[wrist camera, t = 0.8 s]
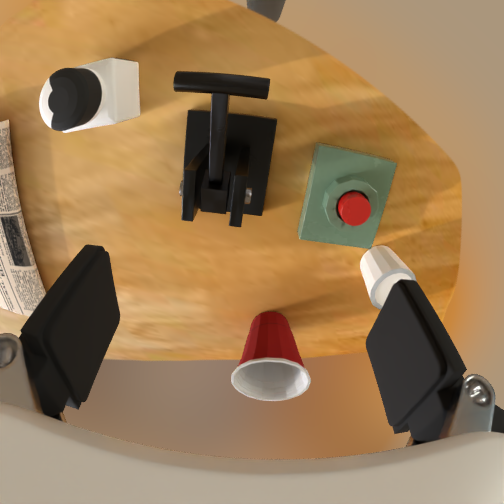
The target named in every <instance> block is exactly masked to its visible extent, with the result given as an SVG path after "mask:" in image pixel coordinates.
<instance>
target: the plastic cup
mask: <svg viewBox="0 0 504 504" xmlns="http://www.w3.org/2000/svg"><path fill="white" fill-rule="evenodd" d="M231 377H232V378H231V380H232V381H231V383H232V384H233V386H234V387H235V388H236V390H237V391H239V392H241V393H242V394H244V395H246V396H248V397H251V398H255V399H258V400H267V401H279V400H286V399H290V398H293V397H296V396H298V395H301V394H302V393H303V392H304V391H306V390H307V389H308V387H309V385H310V382H311V379H310V377H309V374H308V371H307V370H306V369H305V368H304V365H303V362H302V360H301V357H300V355H299V352H298V349H297V346H296V343H295V340H294V337H293V334H292V331H291V330H290V327H289V324H288V321H287V320H286V318H285V317H284V316H283V315H282V314H280V313H277V312H269V311H268V312H264V313H261V314H259V315H258V316H256V317H255V319H254V320H253V322H252V324H251V328H250V332H249V335H248V337H247V341H246V344H245V348H244V351H243V355H242V359H241V360H240V363H239V365H238V367H237V368H236V369H235V371H234V372H233V373H232V375H231Z"/></svg>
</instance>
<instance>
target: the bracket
mask: <svg viewBox="0 0 504 504" xmlns="http://www.w3.org/2000/svg"><path fill="white" fill-rule="evenodd" d="M210 118H211V111H207V110H192V109H191V110H188V117H187V128H186V140H185V154H184V169H183V180H182V181H181V184H180V196H182V220H184V221H193V220H194V218H195V215H196V213H197V211H198V209H201V197H200V188H201V184H202V180H203V177H204V173H205V170H206V169H207V170H209V146H210ZM276 124H277V119H276V118H270V117H263V116H255V115H247V114H239V113H229V112H228V123H227V135H226V148H225V162H224V171H226V172H231V179H230V191H229V199H228V205H227V211H226V212H230V221H229V226H234V227H241V223H242V216H243V214H250V215H258V216H262V212H263V206H264V200H265V193H266V187H267V181H268V175H269V168H270V162H271V156H272V150H273V143H274V137H275V131H276Z"/></svg>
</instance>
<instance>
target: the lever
mask: <svg viewBox="0 0 504 504" xmlns="http://www.w3.org/2000/svg"><path fill="white" fill-rule="evenodd" d="M269 85H270V79H268V78H261V77H253V76H244V75H235V74H224V73H210V72H189V71H177V72H176V74H175V77H174V83H173V86H174V91H175V92H195V93H211V94H212V96H211V118H210V146H209V170H207V169H206V170H205V173H204V177H203V180H202V184H201V188H200V197H201V211H203V212H212V213H220V214H226V211H227V205H228V199H229V191H230V179H231V172H226V171H224V162H225V148H226V135H227V123H228V110H229V99H230V95H233V96H243V97H251V98H259V99H267V98H268V92H269Z"/></svg>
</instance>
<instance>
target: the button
mask: <svg viewBox="0 0 504 504" xmlns="http://www.w3.org/2000/svg"><path fill="white" fill-rule="evenodd" d="M338 212H339V214H340V216H341V217H342V219H343V220H344V222H345V223H347V224H348V225H351V226H358V225H361V224H363V223H365V222H366V221H367V220H368V218H369V216H370V214H371V206H370V203H369V202H368V200H367V199H366V198H365V197H364V196H363V195H362V194H361V193H359V192H348V193H346V194H344V195H343V196H342V197H341V199H340V200H339V203H338Z"/></svg>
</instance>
